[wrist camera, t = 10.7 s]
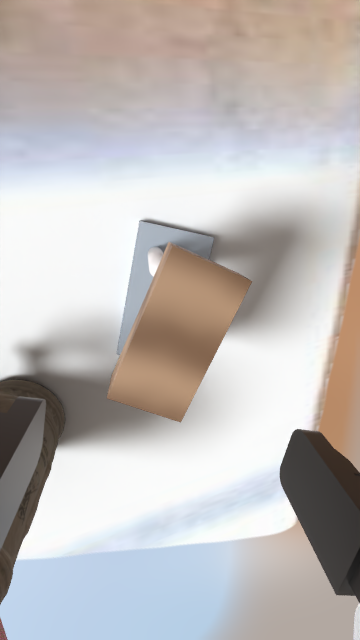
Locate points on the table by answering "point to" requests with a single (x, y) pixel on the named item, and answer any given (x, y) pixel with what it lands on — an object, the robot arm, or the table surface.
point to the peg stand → (154, 265)
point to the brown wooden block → (176, 333)
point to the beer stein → (3, 398)
